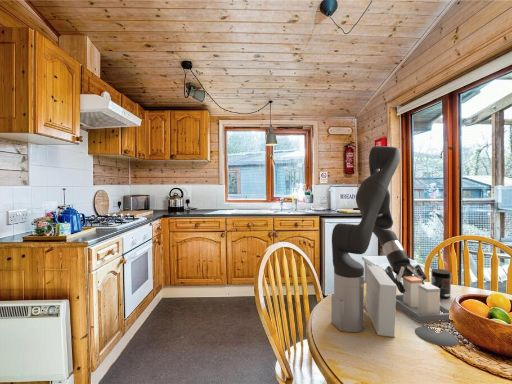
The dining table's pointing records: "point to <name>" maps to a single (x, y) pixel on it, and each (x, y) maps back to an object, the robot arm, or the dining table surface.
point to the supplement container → (442, 282)
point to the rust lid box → (411, 290)
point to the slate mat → (436, 336)
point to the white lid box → (428, 299)
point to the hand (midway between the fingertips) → (414, 292)
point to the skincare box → (381, 300)
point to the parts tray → (417, 316)
